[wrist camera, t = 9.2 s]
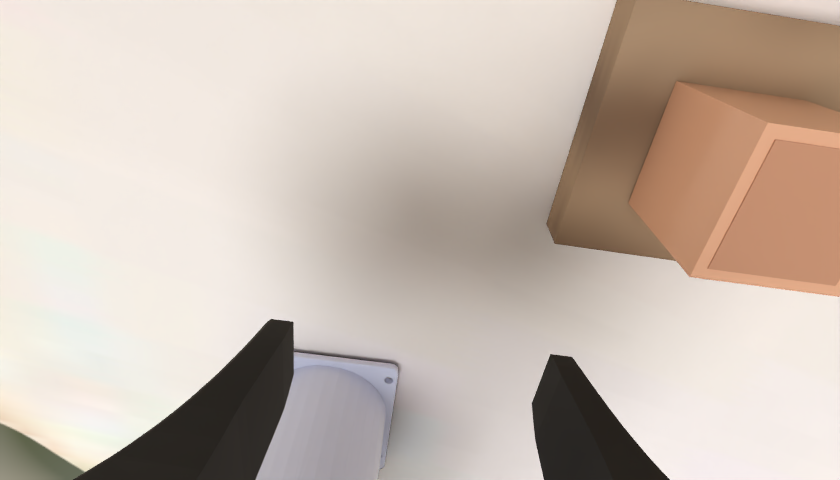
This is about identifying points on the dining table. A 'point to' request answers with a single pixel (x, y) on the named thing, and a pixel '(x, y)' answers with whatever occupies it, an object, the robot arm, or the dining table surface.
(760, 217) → the terracotta block
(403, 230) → the dining table surface
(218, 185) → the dining table surface
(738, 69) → the walnut board
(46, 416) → the dining table surface
